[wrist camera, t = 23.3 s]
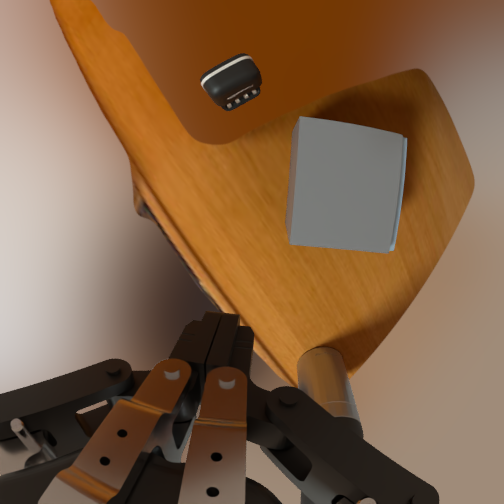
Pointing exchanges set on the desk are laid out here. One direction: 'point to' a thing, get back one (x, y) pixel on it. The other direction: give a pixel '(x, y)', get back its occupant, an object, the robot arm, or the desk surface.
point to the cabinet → (342, 185)
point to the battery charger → (232, 82)
